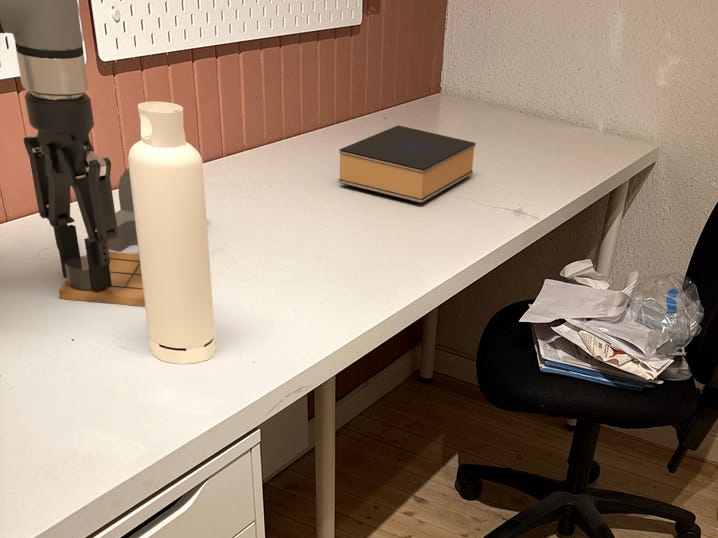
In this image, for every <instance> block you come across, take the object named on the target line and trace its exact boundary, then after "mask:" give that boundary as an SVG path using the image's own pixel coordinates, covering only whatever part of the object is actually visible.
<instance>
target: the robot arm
mask: <svg viewBox="0 0 718 538" xmlns="http://www.w3.org/2000/svg"><path fill="white" fill-rule="evenodd" d="M78 6H79V5H78V0H0V34H12V36H13V39H14V42H15V43H14V44H15V50H16V57H17V63H18V69H19V76H20V81H21V86H22V87H23V89H25V90H26V91H27V92H26V93H25V95H24V99H25V106H26V113H27V117H28V123H29V125H30V126H31V127H32V128H33V129H34V130H37V134H36V135H31V136H25V137H24V138H23V145H24V147H25V150H26V152H27V155H28V158H29V163H30V168H31V169H30V170H31V173H32V180H33V186H34V192H35V197H36V203H37V210H38V214H39V216H40V218H41V219H46V220H48V222H49V225H50V226H51V227H52V228H53V235H54V237H55V239H54V240H55V244H56V248H57V250H58V255H59V259H60V266H61V272H62V277H63V278H64V279H66V280H67V273H66V267H65V262H66V260H68V259H70V258H74V257H80V256H81V252H80V246H79V239H78V234H77V229H76V225H73V224H71V223H75V220H76V219H74V218H73V217H72V216H71V187H72V189H73V192H74V195H75V199H76V202H77V205H78V208H79V211H80V215H81V218H82V221H83V225H84V227H85V231H86V234H87V236H88V237H87V238H84V239H83V240H84V245H85V252H86V255H87V259H88V266H89V272H90V278H91V284H92V290H94V291H98V290H102V289H105V288H108V287H111V286H112V283H111V276H110V269H109V265H110V257H109V250H110V249H108V240H109V239H113V238H116V237H118V228H117V222H116V215H115V213H116V207H115V201H114V195H113V189H112V182H111V171H112V161H111V159H110V158H109V157H100V156H99V155H98V154H97V153H95V152H94V150H95V149H94V147H93V145H92V142H91V139H90V133H91V131H92V129H94V127H95V121H94V114H93V107H92V99H91V97H90V96H89V95H88V94H87V91H89V89H90V88H89V82H88V74H87V69H86V68H87V67H86V59H85V54H84V53H85V51H84V46H83V45H84V44H83V36H82V29H81V22H80V14H79V7H78Z"/></svg>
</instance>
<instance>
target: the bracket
mask: <svg viewBox="0 0 718 538" xmlns="http://www.w3.org/2000/svg"><path fill="white" fill-rule="evenodd" d="M118 199H119V207H120V209H119V210H118V211H115V215H116V222H117V228H118V237H116V238H113V239H109V240H108V250H110V251H115V252H123V250H126V248H128V247H130V246H137V245H138V240H137V232H136V223H135V215H134V206H133V198H132V190H131V181H130V173H129V167H128V168H127V169H125V170H124V171H123V173H122V175H120V178H119V181H118Z"/></svg>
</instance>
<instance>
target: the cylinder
mask: <svg viewBox="0 0 718 538" xmlns="http://www.w3.org/2000/svg"><path fill="white" fill-rule="evenodd" d="M65 267H66V273H67V279H68V284H69V285H70V286H71V287H73V288H76V289H81V290H92V284H91V278H90V272H89V266H88V259H87V256H86V255H84V256H83V255H82V256H81V255H80V257H74V258H70V259H68V260H66V262H65ZM67 279H66V280H67Z"/></svg>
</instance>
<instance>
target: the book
mask: <svg viewBox="0 0 718 538" xmlns="http://www.w3.org/2000/svg"><path fill="white" fill-rule="evenodd" d="M475 148H476V142H474V141H469V140H465V139H461V138H456V137H452V136H447V135H442V134H439V133H435V132H429V131H425V130H421V129H416V128H411V127H409V126H408V127H407V126H403V125H396V126H393V127H391V128H388V129H386V130H383V131H381V132H379V133H376V134H373V135H371V136H368V137H366V138H364V139H361V140H358V141H356V142H354V143H351V144H349V145H347V146H344V147H342V148H340V149H339V179H338V183H339V184H341V185H342V184H343V185H345V186H350V187H352V188H353V189H363V190H367V191H371V192H375V193H379V194H384V195H387V196H391V197H395V198H399V199H404V200H407V201H409V202H410V203H413V204H414V203H419V204H423V203H424V202H426V201H428V200H429V199H431V198H433V197H435V196H436V195H438V194H440V193H442V192H443V191H446V190H447V189H449V188H450V187H452V186H454V185H456V184H458V183H460V182H461V181H463V180H464V179H466V178H468V177H470V176H471V175H473V172H474V170H473V166H474V165H473V164H474V156H475V155H474V154H475Z"/></svg>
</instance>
